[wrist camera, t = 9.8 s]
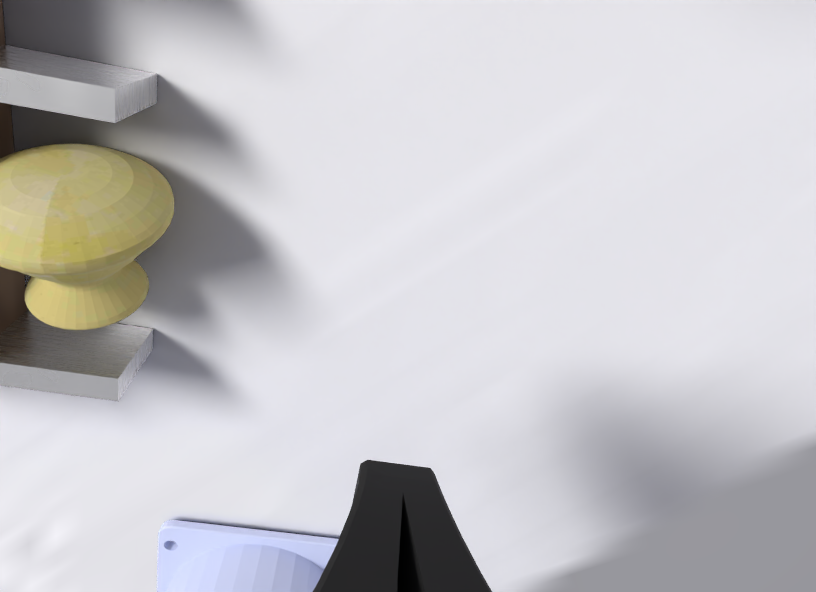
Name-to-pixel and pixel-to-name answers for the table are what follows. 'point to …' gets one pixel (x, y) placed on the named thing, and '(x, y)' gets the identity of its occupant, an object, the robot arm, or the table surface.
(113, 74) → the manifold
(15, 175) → the knob
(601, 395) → the table surface
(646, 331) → the table surface
